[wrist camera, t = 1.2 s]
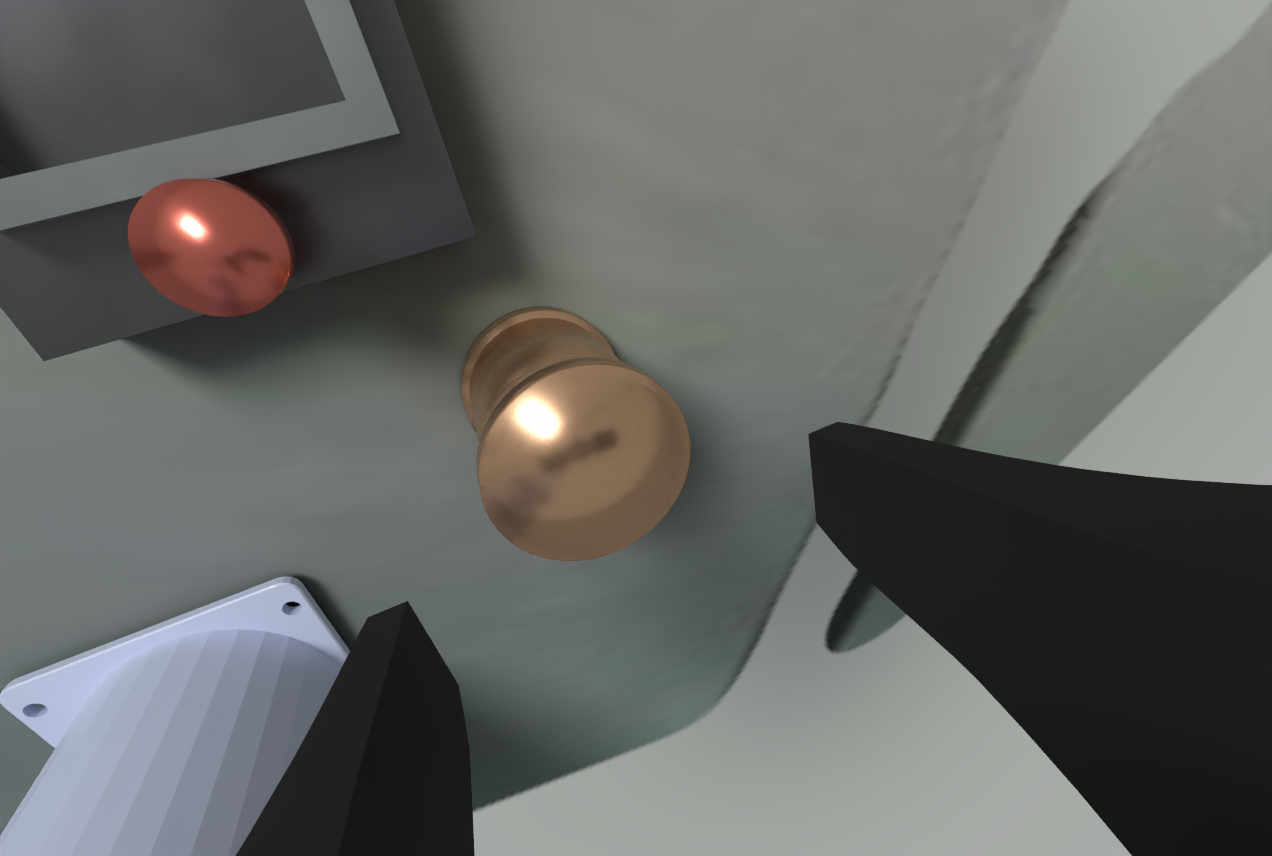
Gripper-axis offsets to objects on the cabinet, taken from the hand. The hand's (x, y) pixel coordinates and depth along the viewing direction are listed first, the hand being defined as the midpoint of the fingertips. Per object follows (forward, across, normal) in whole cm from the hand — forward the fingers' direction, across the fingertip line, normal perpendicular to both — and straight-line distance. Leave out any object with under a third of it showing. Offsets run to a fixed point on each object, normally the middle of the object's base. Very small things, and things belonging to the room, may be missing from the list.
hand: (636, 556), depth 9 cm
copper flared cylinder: (+9, 0, 0) cm, 9 cm away
